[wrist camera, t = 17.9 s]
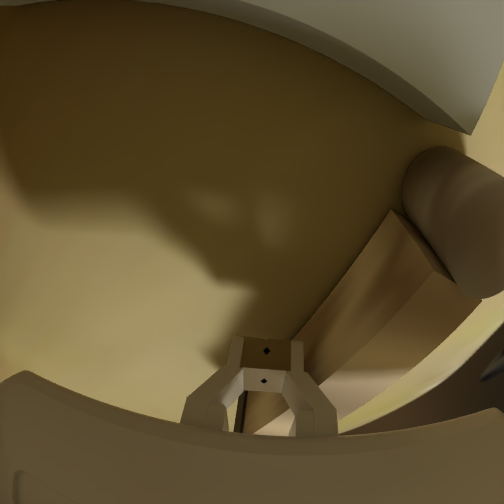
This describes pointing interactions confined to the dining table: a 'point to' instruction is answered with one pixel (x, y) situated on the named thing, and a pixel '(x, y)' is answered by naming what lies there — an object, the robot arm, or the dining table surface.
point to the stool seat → (390, 45)
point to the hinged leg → (400, 289)
